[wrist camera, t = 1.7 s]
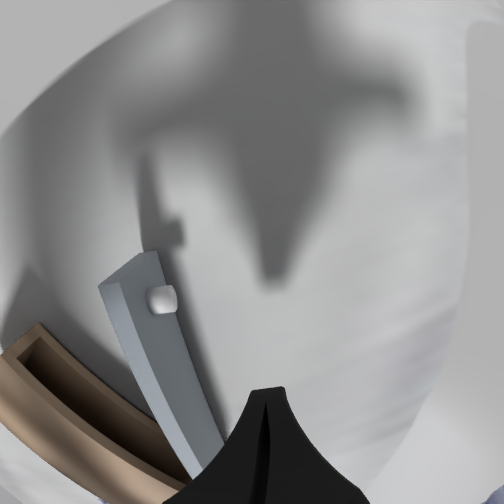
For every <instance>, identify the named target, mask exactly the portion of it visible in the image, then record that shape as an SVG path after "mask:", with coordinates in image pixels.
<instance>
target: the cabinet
mask: <svg viewBox="0 0 504 504" xmlns="http://www.w3.org/2000/svg"><path fill="white" fill-rule="evenodd" d="M0 422H1V423H2V424H3V425H4V426H5V427H6V428H7V429H8V430H9V431H10V432H11V433H13V434H14V435H15V436H16V437H17V438H18V439H19V440H20V441H21V442H23V443H24V444H25V445H26V446H27V447H28V448H30V449H31V450H32V451H33V452H34V453H36V454H37V455H38V456H39V457H41V458H42V459H43V460H44V461H46V462H47V463H48V464H50V465H51V466H52V467H54V468H55V469H56V470H58V471H59V472H61V473H62V474H63V475H65V476H66V477H68V478H69V479H71V480H72V481H73V482H75V483H76V484H78V485H80V486H81V487H83V488H84V489H86V490H87V491H89V492H91V493H92V494H94V495H95V496H97V497H99V498H101V499H102V500H104V501H106V502H107V503H109V504H162V502H164V501H166V500H167V499H169V498H170V497H171V496H173V495H174V494H176V493H177V492H179V491H180V490H181V489H183V488H184V487H185V486H186V485H187V484H189V483H190V482H191V481H192V480H193V479H192V478H191V476H190V475H189V473H188V472H187V470H186V469H185V467H184V466H183V464H182V462H181V461H180V459H179V458H178V456H177V454H176V453H175V451H174V449H173V448H172V446H171V444H170V443H169V441H168V439H167V438H166V436H165V434H164V432H163V431H162V429H161V427H160V425H159V424H157V423H156V422H154V421H153V420H152V419H150V418H149V417H147V416H146V415H144V414H143V413H142V412H140V411H139V410H137V409H136V408H135V407H133V406H132V405H131V404H129V403H128V402H127V401H125V400H124V399H123V398H121V397H120V396H119V395H117V394H116V393H115V392H114V391H112V390H111V389H110V388H109V387H107V386H106V385H105V384H104V383H103V382H101V381H100V380H99V379H98V378H97V377H95V376H94V375H93V374H92V373H91V372H90V371H88V370H87V369H86V368H85V367H84V366H83V365H82V364H80V363H79V362H78V361H77V360H76V359H75V358H74V357H73V356H72V355H71V354H70V353H68V352H67V351H66V350H65V349H64V348H63V347H62V346H61V345H60V344H59V343H58V342H57V341H56V340H55V339H54V338H53V337H52V336H51V335H50V334H49V333H48V332H47V331H46V330H45V329H44V328H43V327H42V326H41V325H40V324H39V323H37V324H36V325H35V326H34V327H32V328H31V329H30V330H29V331H28V332H27V333H25V334H24V335H23V336H22V337H21V338H19V339H18V340H17V341H16V342H15V343H14V344H12V345H11V346H10V347H9V348H8V349H7V350H6V351H4V352H3V353H2V354H1V355H0Z"/></svg>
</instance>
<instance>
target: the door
mask: <svg viewBox="0 0 504 504" xmlns="http://www.w3.org/2000/svg"><path fill="white" fill-rule="evenodd" d="M98 288H99V291H100V294H101V296H102V299H103V302H104V305H105V307H106V310H107V313H108V315H109V318H110V321H111V323H112V326H113V328H114V331H115V333H116V336H117V338H118V341H119V343H120V345H121V348H122V350H123V352H124V355H125V357H126V359H127V361H128V364H129V366H130V368H131V370H132V372H133V374H134V377H135V379H136V381H137V383H138V385H139V387H140V389H141V391H142V393H143V395H144V397H145V399H146V401H147V403H148V405H149V407H150V409H151V411H152V412H153V414H154V416H155V418H156V420H157V422H158V424H159V425H160V427H161V429H162V431H163V432H164V434H165V436H166V438H167V439H168V441H169V443H170V444H171V446H172V448H173V449H174V451H175V453H176V454H177V456H178V458H179V459H180V461H181V462H182V464H183V466H184V467H185V469H186V470H187V472H188V473H189V475H190V476H191V478H192V479H194V478H195V477H196V476H198V475H199V474H200V473H201V472H202V471H203V470H204V469H205V468H206V466H207V465H208V464H209V463H210V462H211V461H212V460H213V458H214V457H215V456H216V455H217V453H218V452H219V451H220V450H221V448H222V447H223V445H224V442H223V439H222V437H221V435H220V432H219V430H218V428H217V425H216V423H215V421H214V418H213V416H212V413H211V411H210V408H209V406H208V403H207V401H206V398H205V396H204V393H203V391H202V388H201V385H200V383H199V380H198V377H197V375H196V372H195V369H194V367H193V364H192V361H191V358H190V355H189V353H188V350H187V347H186V344H185V341H184V338H183V335H182V332H181V329H180V326H179V323H178V320H177V317H176V314H175V311H176V310H177V296H176V292H175V289H174V288H173V286H172V285H166V281H165V278H164V274H163V271H162V267H161V264H160V260H159V256H158V253H157V250H153V251H148V252H143V253H139V254H138V255H136V256H135V257H134V258H132V259H131V260H130V261H129V262H127V263H126V264H125V265H123V266H122V267H121V268H120V269H118V270H117V271H116V272H114V273H113V274H112V275H111V276H109V277H108V278H107V279H106V280H104V281H103V282H102V283H101V284H99V285H98Z"/></svg>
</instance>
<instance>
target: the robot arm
mask: <svg viewBox="0 0 504 504" xmlns="http://www.w3.org/2000/svg"><path fill="white" fill-rule="evenodd" d="M98 502H100V503H101V504H109V503H107V502H106V501H104V500H102V499H101V498H99V499H98ZM162 504H370V503H369V501H368V500H367V498H366V497H365V495H364V494H363V492H362V491H361V490H360V489H359V488H358V487H357V486H355V485H354V484H352V483H351V482H350V481H349V480H347V479H346V478H345V477H344V476H342V475H341V474H340V473H339V472H338V471H337V470H336V469H335V468H334V467H333V466H332V465H331V464H330V463H329V462H328V461H327V460H326V459H325V458H324V457H323V456H322V455H321V454H320V453H319V452H318V450H317V449H316V448H315V447H314V445H313V444H312V443H311V442H310V440H309V439H308V437H307V436H306V435H305V433H304V431H303V430H302V428H301V427H300V425H299V423H298V422H297V420H296V418H295V416H294V414H293V412H292V410H291V408H290V406H289V403H288V400H287V397H286V392H285V388H284V387H282V386H280V387H273V388H266V389H259V390H252V391H251V392H250V395H249V398H248V401H247V403H246V406H245V408H244V410H243V412H242V415H241V416H240V418H239V420H238V422H237V424H236V426H235V428H234V430H233V431H232V433H231V434H230V436H229V438H228V439H227V441H226V442H225V444H224V445H223V447H222V448H221V450H220V451H219V452H218V453H217V455H216V456H215V457H214V458H213V460H212V461H211V462H210V463H209V464H208V465H207V466H206V468H205V469H204V470H203V471H202V472H201V473H200V474H199V475H198V476H196V477H195V478H194V479H193V480H192V481H191V482H190V483H189V484H187V485H186V486H185V487H184V488H183V489H181V490H180V491H179V492H177V493H176V494H174V495H173V496H171V497H170V498H169V499H167V500H166V501H164V502H162ZM482 504H504V485H503V486H502V487H500V488H498V489H497V490H496V491H494V492H493V493H492V494H491V495H490V496H489V498H488V499H487V501H485V502H483V503H482Z"/></svg>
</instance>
